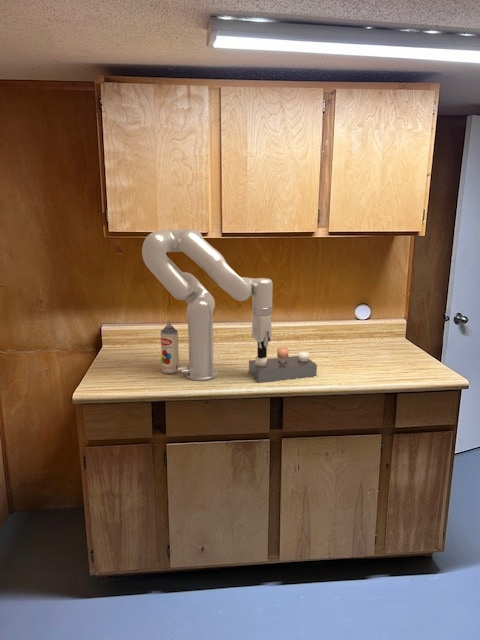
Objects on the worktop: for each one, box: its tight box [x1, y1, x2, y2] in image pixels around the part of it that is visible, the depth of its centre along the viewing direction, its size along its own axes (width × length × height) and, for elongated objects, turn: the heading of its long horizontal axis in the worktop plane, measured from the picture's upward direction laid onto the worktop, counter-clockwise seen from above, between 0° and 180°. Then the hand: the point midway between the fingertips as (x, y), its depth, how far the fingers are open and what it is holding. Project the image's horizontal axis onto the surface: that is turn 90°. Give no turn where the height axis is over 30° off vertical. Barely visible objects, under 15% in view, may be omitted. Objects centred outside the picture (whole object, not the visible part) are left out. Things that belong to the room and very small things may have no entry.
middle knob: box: [276, 347, 289, 364], centre depth 182 cm, size 4×4×8 cm
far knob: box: [297, 350, 310, 362], centre depth 185 cm, size 4×4×8 cm
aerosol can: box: [160, 322, 180, 375], centre depth 184 cm, size 7×7×20 cm
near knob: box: [254, 355, 268, 367], centre depth 180 cm, size 4×4×8 cm
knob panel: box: [248, 355, 318, 384], centre depth 183 cm, size 24×12×5 cm, turn 107°
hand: (262, 357), depth 179 cm, fingers closed
